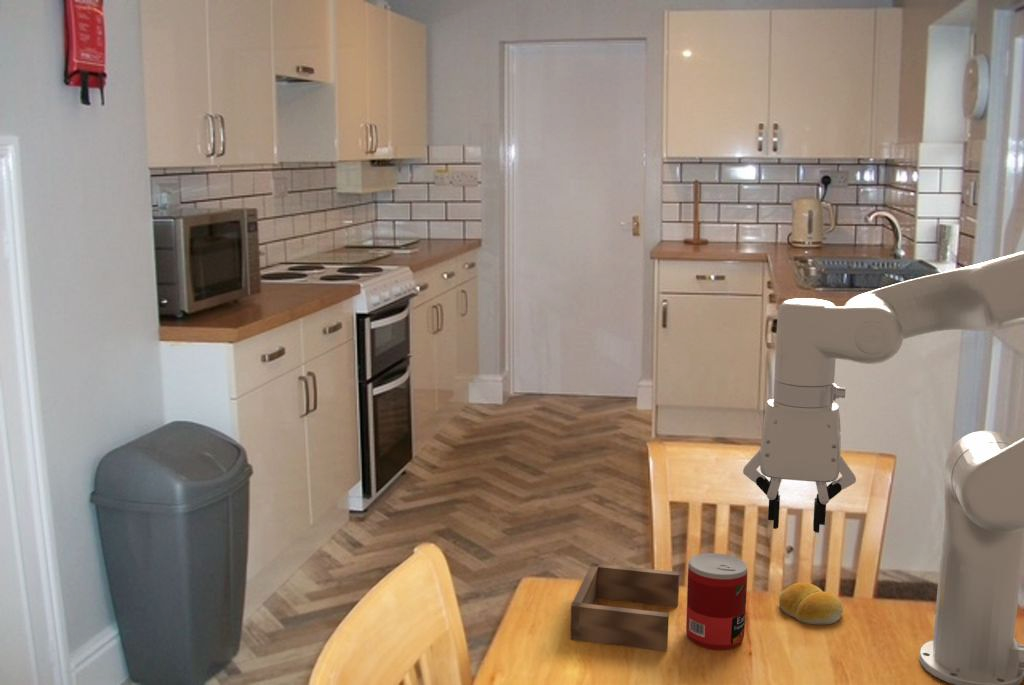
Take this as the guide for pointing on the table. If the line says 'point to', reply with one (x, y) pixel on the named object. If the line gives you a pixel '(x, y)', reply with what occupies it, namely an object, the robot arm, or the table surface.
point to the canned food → (716, 601)
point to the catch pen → (624, 622)
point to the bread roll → (810, 604)
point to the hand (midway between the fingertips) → (795, 525)
